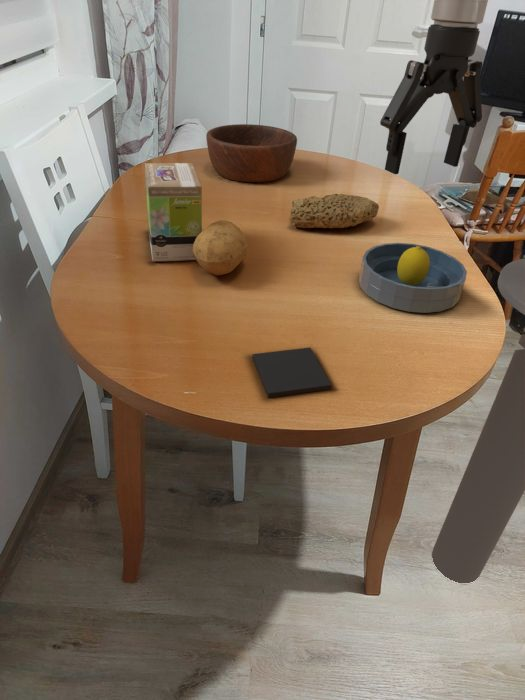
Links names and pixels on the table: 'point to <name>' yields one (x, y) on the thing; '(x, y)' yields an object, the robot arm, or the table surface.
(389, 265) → the basin
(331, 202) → the sponge
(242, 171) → the wooden bowl
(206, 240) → the potato
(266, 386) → the mat
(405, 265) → the lemon
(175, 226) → the tea box
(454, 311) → the table surface
